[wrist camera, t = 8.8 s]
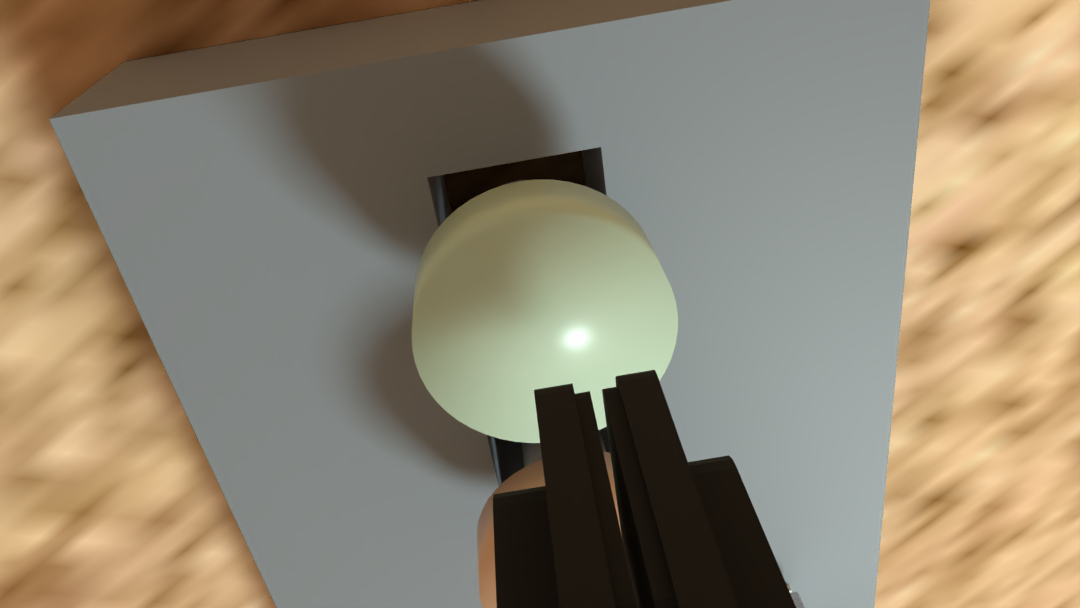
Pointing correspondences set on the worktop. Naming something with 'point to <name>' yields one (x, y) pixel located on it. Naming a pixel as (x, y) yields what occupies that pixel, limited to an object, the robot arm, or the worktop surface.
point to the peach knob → (485, 530)
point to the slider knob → (797, 600)
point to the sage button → (537, 304)
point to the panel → (423, 204)
